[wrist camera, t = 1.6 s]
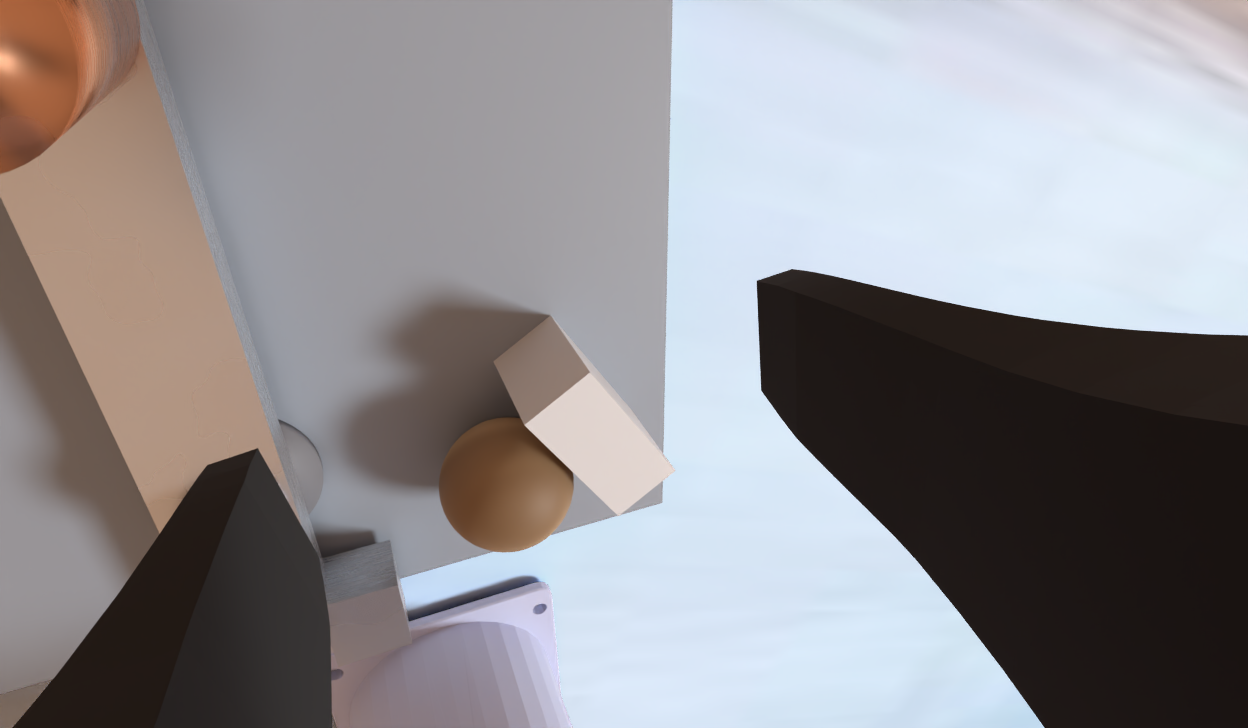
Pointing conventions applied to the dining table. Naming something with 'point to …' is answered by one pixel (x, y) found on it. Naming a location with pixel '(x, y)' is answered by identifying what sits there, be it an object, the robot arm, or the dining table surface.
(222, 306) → the lever
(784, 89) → the dining table surface
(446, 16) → the flat white platform
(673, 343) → the dining table surface
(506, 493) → the brown sphere
